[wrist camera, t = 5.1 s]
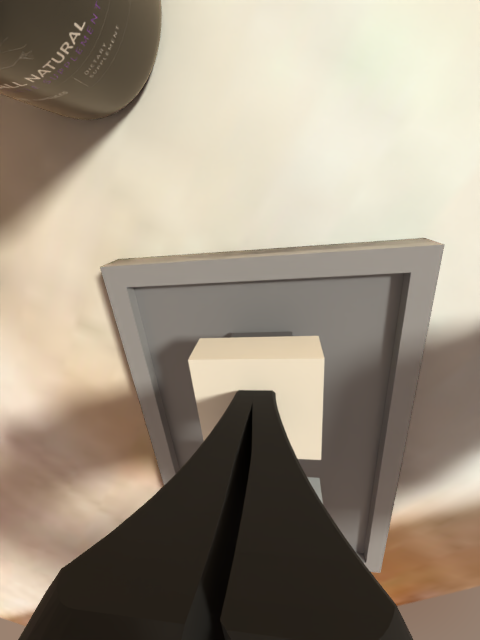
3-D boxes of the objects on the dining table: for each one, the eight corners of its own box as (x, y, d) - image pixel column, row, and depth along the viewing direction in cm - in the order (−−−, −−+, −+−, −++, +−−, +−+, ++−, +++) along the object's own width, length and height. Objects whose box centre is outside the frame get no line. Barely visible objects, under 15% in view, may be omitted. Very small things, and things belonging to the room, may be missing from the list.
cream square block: (312, 312, 13) (324, 358, 9) (311, 395, 14) (321, 460, 11) (211, 316, 13) (188, 359, 10) (223, 395, 15) (206, 455, 12)
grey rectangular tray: (424, 238, 12) (444, 244, 11) (373, 546, 21) (380, 572, 19) (118, 259, 14) (99, 266, 13) (190, 530, 23) (183, 553, 22)
